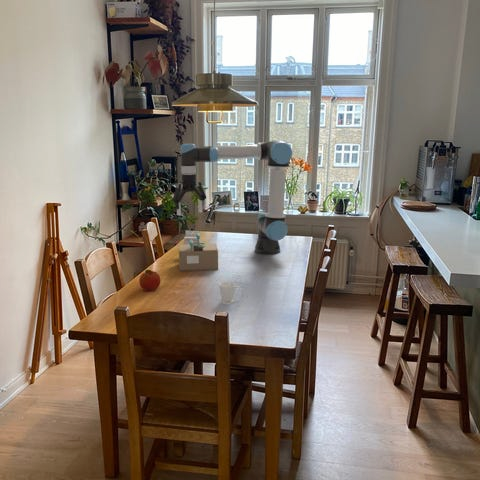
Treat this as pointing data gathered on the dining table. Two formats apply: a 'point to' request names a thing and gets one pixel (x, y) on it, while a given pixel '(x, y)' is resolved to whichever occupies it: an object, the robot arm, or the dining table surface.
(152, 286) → the fruit
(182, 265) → the carton
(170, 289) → the dining table surface
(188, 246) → the flap
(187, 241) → the ink box
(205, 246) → the flap
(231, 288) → the cup
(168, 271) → the dining table surface
